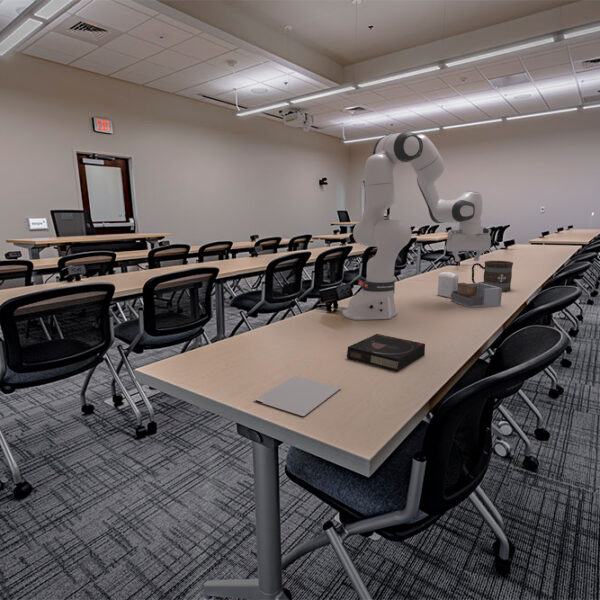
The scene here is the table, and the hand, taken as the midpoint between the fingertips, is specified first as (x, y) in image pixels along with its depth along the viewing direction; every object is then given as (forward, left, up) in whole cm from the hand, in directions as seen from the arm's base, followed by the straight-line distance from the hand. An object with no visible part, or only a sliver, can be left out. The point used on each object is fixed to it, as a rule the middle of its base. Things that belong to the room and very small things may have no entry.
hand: (466, 261), depth 180 cm
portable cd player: (-63, -53, -20) cm, 85 cm away
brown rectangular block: (+1, 0, -19) cm, 19 cm away
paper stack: (-94, -65, -20) cm, 116 cm away
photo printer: (+2, +17, -20) cm, 26 cm away
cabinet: (+5, 0, -20) cm, 20 cm away
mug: (+33, +25, -20) cm, 46 cm away
